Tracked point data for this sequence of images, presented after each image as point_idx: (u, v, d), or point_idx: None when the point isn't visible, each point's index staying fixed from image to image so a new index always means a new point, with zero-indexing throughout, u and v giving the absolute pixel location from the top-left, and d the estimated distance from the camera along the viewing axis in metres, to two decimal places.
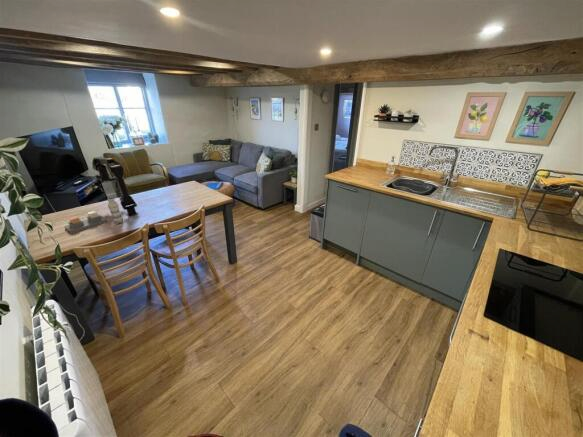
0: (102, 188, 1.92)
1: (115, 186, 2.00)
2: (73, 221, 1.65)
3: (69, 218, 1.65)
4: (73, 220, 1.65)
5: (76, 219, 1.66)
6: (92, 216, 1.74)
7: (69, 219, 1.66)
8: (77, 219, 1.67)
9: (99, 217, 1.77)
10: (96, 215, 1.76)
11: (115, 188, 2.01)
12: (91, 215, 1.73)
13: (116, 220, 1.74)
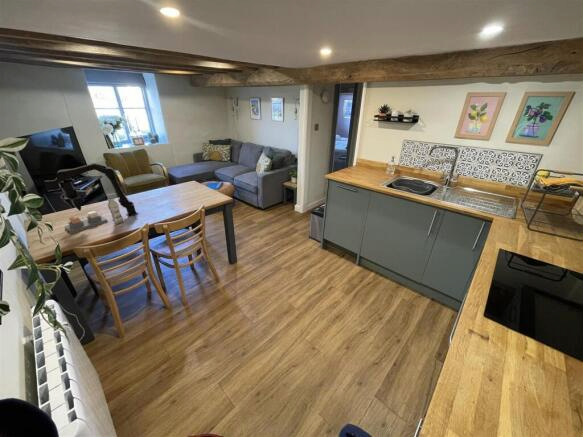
0: (67, 203, 1.68)
1: None
2: (73, 221, 1.65)
3: (69, 218, 1.65)
4: (73, 220, 1.65)
5: (76, 219, 1.66)
6: (92, 216, 1.74)
7: (69, 219, 1.66)
8: (77, 219, 1.67)
9: (99, 217, 1.77)
10: (96, 215, 1.76)
11: None
12: (91, 215, 1.73)
13: (116, 220, 1.74)
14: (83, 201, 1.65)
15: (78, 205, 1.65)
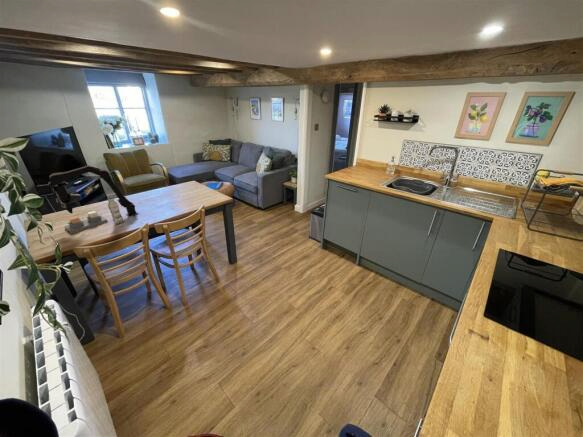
0: None
1: None
2: (73, 221, 1.65)
3: (69, 218, 1.65)
4: (73, 220, 1.65)
5: (76, 219, 1.66)
6: (92, 216, 1.74)
7: (69, 219, 1.66)
8: (77, 219, 1.67)
9: (99, 217, 1.77)
10: (96, 215, 1.76)
11: None
12: (91, 215, 1.73)
13: (116, 220, 1.74)
14: None
15: (69, 208, 1.62)
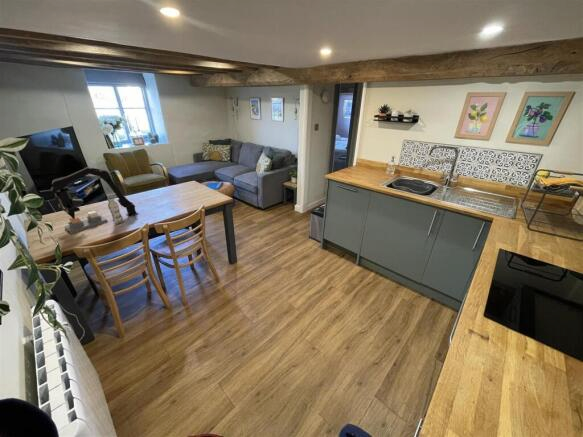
0: (67, 213, 1.64)
1: None
2: (73, 221, 1.65)
3: (69, 218, 1.65)
4: (73, 220, 1.65)
5: (76, 219, 1.66)
6: (92, 216, 1.74)
7: (69, 219, 1.66)
8: (77, 219, 1.67)
9: (99, 217, 1.77)
10: (96, 215, 1.76)
11: None
12: (91, 215, 1.73)
13: (116, 220, 1.74)
14: None
15: (71, 213, 1.64)
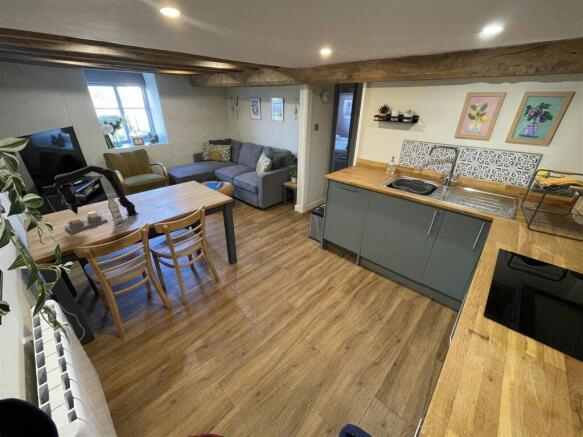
0: (71, 209, 1.64)
1: None
2: (74, 223, 1.66)
3: (70, 220, 1.66)
4: (74, 222, 1.66)
5: (77, 221, 1.67)
6: (92, 216, 1.74)
7: (70, 221, 1.66)
8: (78, 221, 1.67)
9: (99, 217, 1.77)
10: (96, 215, 1.76)
11: None
12: (91, 215, 1.73)
13: (116, 220, 1.74)
14: None
15: (74, 209, 1.64)
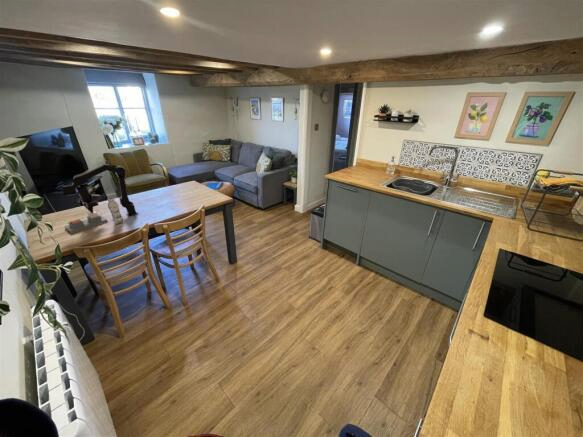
0: (86, 208, 1.72)
1: (89, 209, 1.73)
2: (74, 223, 1.66)
3: (70, 220, 1.66)
4: (74, 222, 1.66)
5: (77, 221, 1.67)
6: (92, 216, 1.74)
7: (70, 221, 1.66)
8: (78, 221, 1.67)
9: (99, 217, 1.77)
10: (96, 215, 1.76)
11: None
12: (91, 215, 1.73)
13: (116, 220, 1.74)
14: None
15: (90, 208, 1.72)
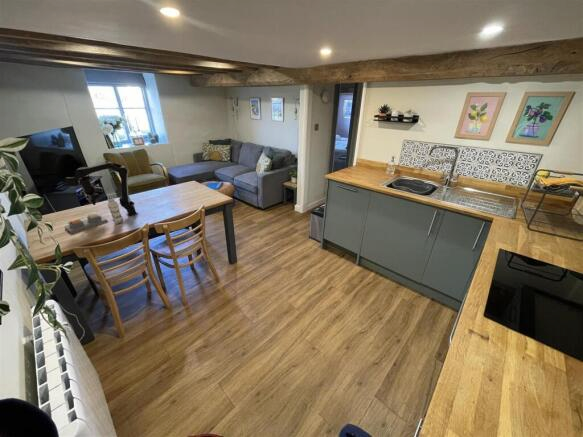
0: (89, 200, 1.75)
1: None
2: (74, 223, 1.66)
3: (70, 220, 1.66)
4: (74, 222, 1.66)
5: (77, 221, 1.67)
6: None
7: (70, 221, 1.66)
8: (78, 221, 1.67)
9: (99, 217, 1.77)
10: None
11: None
12: (92, 217, 1.74)
13: (116, 220, 1.74)
14: None
15: (93, 200, 1.75)
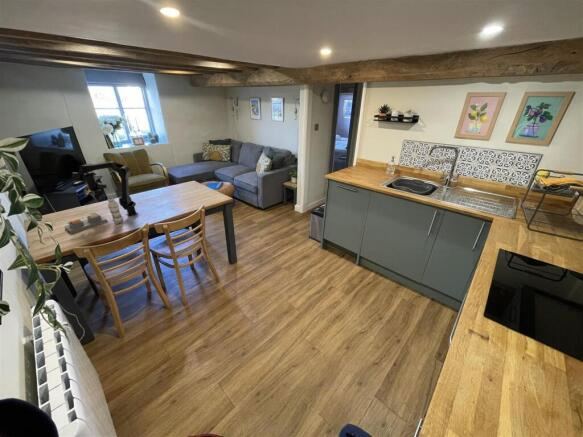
0: (93, 196, 1.80)
1: None
2: (74, 223, 1.66)
3: (70, 220, 1.66)
4: (74, 222, 1.66)
5: (77, 221, 1.67)
6: None
7: (70, 221, 1.66)
8: (78, 221, 1.67)
9: (99, 217, 1.77)
10: None
11: None
12: (92, 217, 1.74)
13: (116, 220, 1.74)
14: None
15: (96, 196, 1.80)
